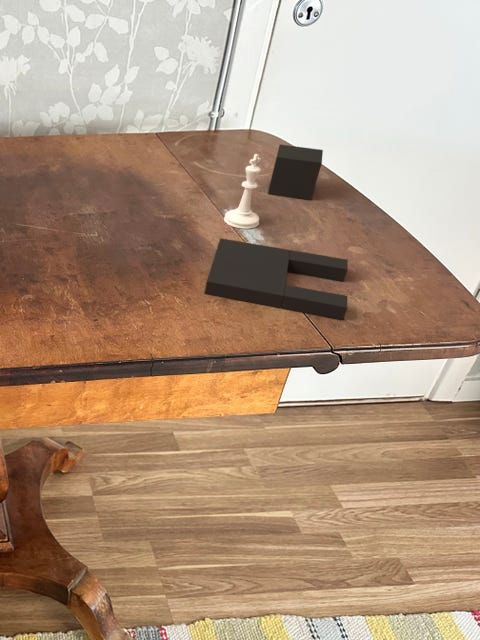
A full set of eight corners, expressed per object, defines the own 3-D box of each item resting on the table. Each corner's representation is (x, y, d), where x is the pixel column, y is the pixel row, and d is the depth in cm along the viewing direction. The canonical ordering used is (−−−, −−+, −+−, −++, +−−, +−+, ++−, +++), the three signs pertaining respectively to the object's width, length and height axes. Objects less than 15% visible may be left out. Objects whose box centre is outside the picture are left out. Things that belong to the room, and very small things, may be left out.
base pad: (343, 271, 91) (347, 259, 90) (343, 320, 82) (347, 307, 81) (217, 249, 96) (220, 237, 95) (204, 293, 87) (206, 281, 86)
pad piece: (312, 186, 112) (322, 149, 108) (311, 200, 108) (321, 162, 104) (270, 180, 114) (279, 144, 110) (267, 194, 110) (276, 156, 106)
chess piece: (266, 223, 102) (283, 156, 96) (242, 231, 100) (258, 164, 94) (240, 210, 105) (254, 145, 99) (216, 218, 103) (230, 152, 97)
